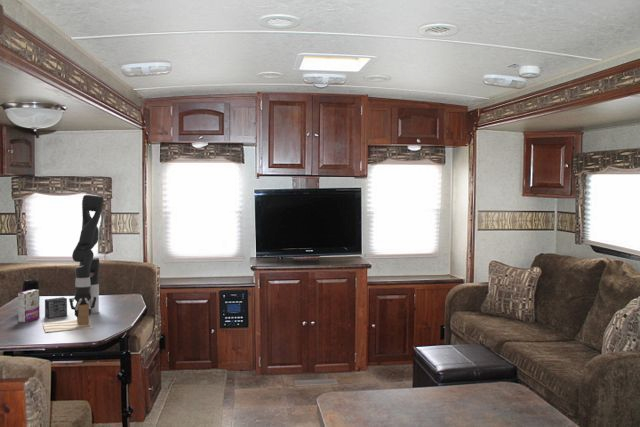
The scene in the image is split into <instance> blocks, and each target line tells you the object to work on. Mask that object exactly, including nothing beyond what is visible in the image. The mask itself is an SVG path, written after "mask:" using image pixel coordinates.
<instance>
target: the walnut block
mask: <svg viewBox="0 0 640 427" xmlns="http://www.w3.org/2000/svg"><path fill="white" fill-rule="evenodd" d="M77 310H78V317H76V320H77V323H78V325H79V326H80V325H89V324H90V316H89V304H80V305H78V309H77Z"/></svg>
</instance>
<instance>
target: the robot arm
mask: <svg viewBox="0 0 640 427" xmlns="http://www.w3.org/2000/svg"><path fill="white" fill-rule="evenodd" d="M104 204H105V199H104V197H103V195H95V194H89V193H88V194H87V193H86V194H84V195H83V196H82V202H81V214H82V215H81V216H82V220H81V221H82V225H81V231H80V235H79V239H78V242H77V244H76V245H75V248H74V250H72V254H71V255H72V258H71V259H72V260H73V261H74V262H76V263H79V266H77V267H76V268H75V284H74V285H75V286H74V290H75V292H74V293H75V294H74V295H75V296H74V297H69V298H68V301H69V305H70V308H71V310H74V316H75V317H76V318H77V317H78V310H77V309H78V305H80V304H89V317H90V315H91V314H96V313H99V312H100V311H99V310H100V308H99V307H100V305H99V304H100V303H99V302H100V259H99V257H96V256H95V255H94V252H93V250H92V249H94V247H95V246H96V245H97V243H98V241H99V232H100V231H99V227H98V224H99V221H100V218H101V215H102V212H103V208H104ZM90 212H94V215H93V216H91V213H90ZM94 256H95V257H94ZM91 273H92V274H91ZM74 301H75V302H76V303H75V306H74Z"/></svg>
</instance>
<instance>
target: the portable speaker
mask: <svg viewBox="0 0 640 427" xmlns="http://www.w3.org/2000/svg"><path fill="white" fill-rule="evenodd" d="M29 290H39V291H40V283H39V278H24V279H23V284H22V292H25V291H29Z"/></svg>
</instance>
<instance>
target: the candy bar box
mask: <svg viewBox="0 0 640 427" xmlns="http://www.w3.org/2000/svg"><path fill="white" fill-rule="evenodd" d="M17 301H18V302H17V303H18V304H17V306H18V307H17V308H18V309H17V310H18V312H17V313H18V322H19V323H28V322H32V321H33V320H34V321H35V320H37V319H40V289H39V290H29V291H25V292H18V293H17Z"/></svg>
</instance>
